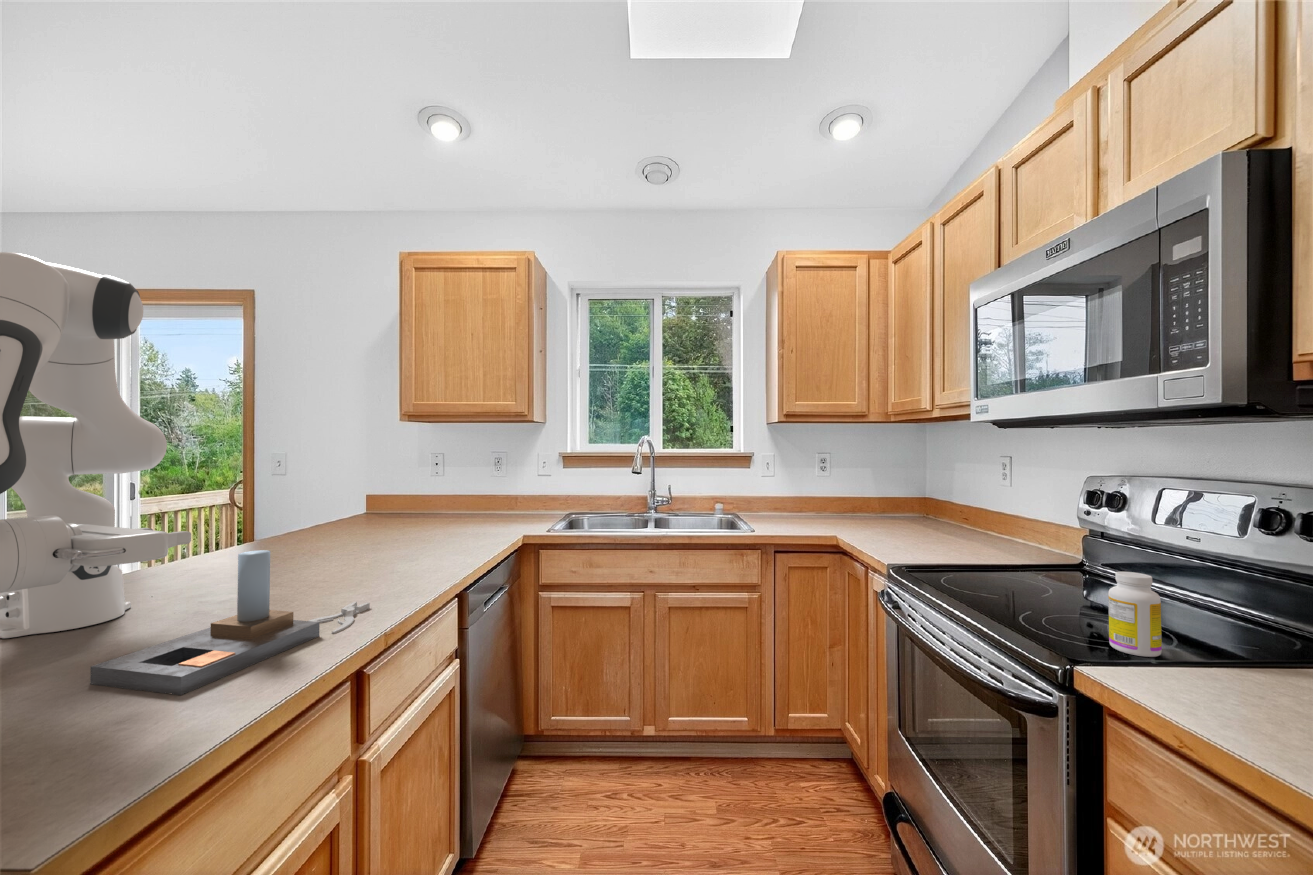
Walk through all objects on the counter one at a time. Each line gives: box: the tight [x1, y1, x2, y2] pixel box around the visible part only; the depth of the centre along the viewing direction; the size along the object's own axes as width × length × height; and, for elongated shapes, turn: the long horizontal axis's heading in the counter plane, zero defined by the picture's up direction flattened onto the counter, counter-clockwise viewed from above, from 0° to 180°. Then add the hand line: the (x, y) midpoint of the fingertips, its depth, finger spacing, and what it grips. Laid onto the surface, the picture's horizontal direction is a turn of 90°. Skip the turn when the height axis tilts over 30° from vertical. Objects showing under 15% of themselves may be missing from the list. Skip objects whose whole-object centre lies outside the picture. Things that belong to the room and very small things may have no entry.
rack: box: [89, 609, 321, 696], centre depth 85 cm, size 16×23×4 cm
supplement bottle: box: [1107, 571, 1163, 658], centre depth 90 cm, size 7×7×13 cm
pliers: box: [308, 601, 371, 635], centre depth 104 cm, size 10×2×15 cm
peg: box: [236, 549, 271, 622], centre depth 91 cm, size 4×4×11 cm
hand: (169, 535), depth 80 cm, fingers open, 8 cm apart
